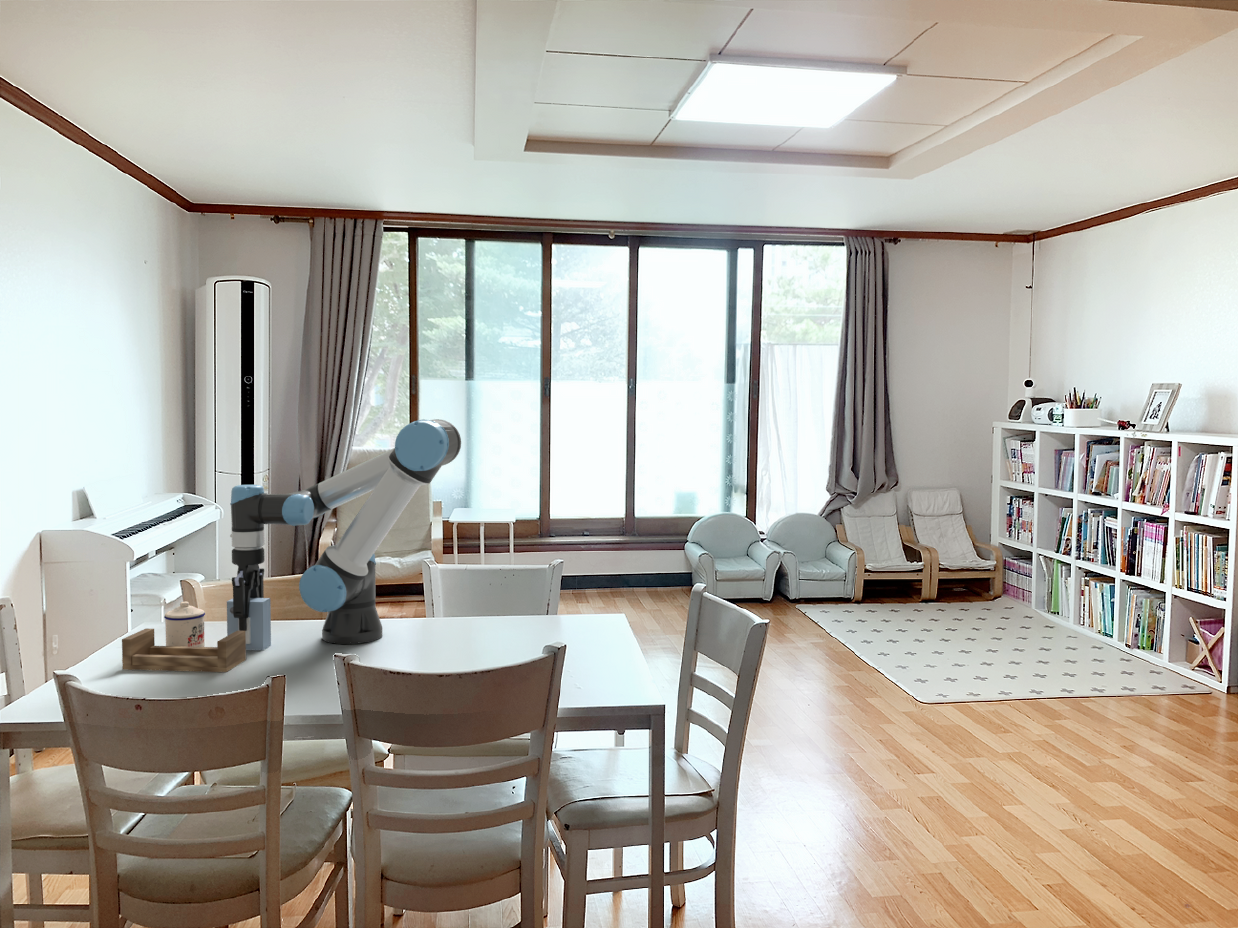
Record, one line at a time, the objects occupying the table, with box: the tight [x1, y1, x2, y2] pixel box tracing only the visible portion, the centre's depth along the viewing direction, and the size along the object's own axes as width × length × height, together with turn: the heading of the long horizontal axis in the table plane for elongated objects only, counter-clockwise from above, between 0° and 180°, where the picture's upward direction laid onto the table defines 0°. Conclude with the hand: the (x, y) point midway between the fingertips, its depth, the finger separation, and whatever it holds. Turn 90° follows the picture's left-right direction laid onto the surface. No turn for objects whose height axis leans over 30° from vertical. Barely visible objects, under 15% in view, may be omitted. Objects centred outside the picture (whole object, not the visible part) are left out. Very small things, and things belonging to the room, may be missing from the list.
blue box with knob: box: [226, 597, 272, 651], centre depth 231 cm, size 9×6×12 cm, turn 88°
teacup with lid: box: [163, 601, 206, 647], centre depth 231 cm, size 12×9×12 cm
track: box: [121, 628, 247, 673], centre depth 216 cm, size 24×10×7 cm, turn 88°
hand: (249, 640), depth 232 cm, fingers closed on blue box with knob, 4 cm apart
